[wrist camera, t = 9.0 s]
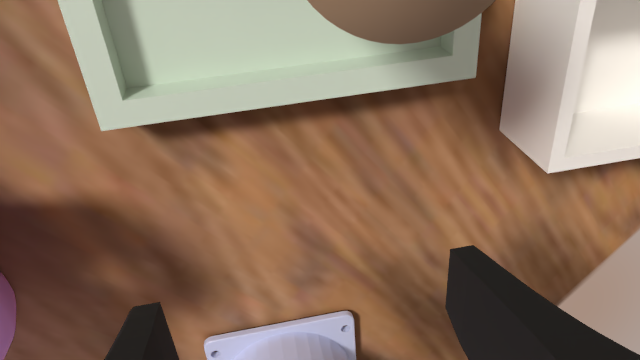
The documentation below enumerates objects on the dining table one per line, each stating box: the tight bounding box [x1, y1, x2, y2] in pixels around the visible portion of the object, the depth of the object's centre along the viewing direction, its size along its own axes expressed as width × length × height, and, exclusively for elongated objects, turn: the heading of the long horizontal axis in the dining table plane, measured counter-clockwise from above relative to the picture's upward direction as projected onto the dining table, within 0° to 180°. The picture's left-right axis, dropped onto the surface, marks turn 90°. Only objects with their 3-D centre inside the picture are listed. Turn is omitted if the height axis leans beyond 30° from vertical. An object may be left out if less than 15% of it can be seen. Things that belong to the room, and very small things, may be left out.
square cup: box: [499, 0, 640, 174], centre depth 20 cm, size 7×7×4 cm
